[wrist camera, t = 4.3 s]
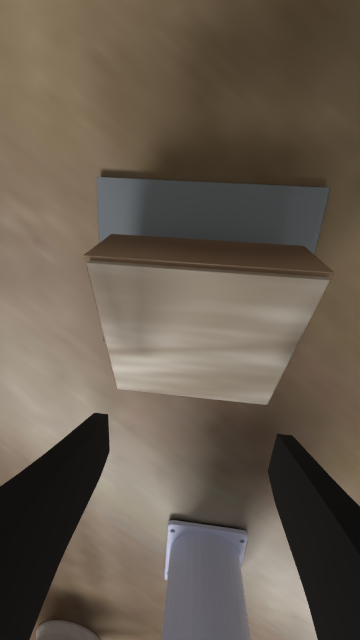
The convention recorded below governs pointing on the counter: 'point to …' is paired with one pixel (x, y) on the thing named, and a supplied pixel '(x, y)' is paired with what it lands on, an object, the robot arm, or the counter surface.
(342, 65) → the counter surface
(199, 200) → the mat
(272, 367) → the brown wooden block
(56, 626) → the mug
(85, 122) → the counter surface
